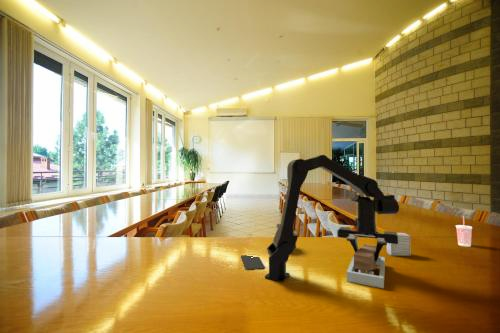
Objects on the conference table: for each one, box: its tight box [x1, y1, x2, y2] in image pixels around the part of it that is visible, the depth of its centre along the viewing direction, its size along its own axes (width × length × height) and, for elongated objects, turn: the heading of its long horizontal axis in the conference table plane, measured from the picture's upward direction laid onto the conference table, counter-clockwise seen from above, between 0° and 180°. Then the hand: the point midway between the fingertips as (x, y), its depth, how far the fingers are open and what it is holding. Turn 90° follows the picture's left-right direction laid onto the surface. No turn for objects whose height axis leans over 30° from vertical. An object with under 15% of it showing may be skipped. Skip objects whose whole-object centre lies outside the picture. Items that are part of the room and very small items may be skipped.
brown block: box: [353, 243, 380, 272], centre depth 87 cm, size 15×5×4 cm, turn 144°
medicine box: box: [386, 232, 412, 257], centre depth 106 cm, size 8×4×9 cm, turn 84°
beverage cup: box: [455, 215, 473, 248], centre depth 120 cm, size 6×6×14 cm
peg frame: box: [346, 255, 386, 289], centre depth 87 cm, size 21×10×3 cm, turn 151°
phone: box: [240, 254, 266, 271], centre depth 97 cm, size 7×1×15 cm
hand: (367, 259), depth 87 cm, fingers closed on brown block, 5 cm apart
